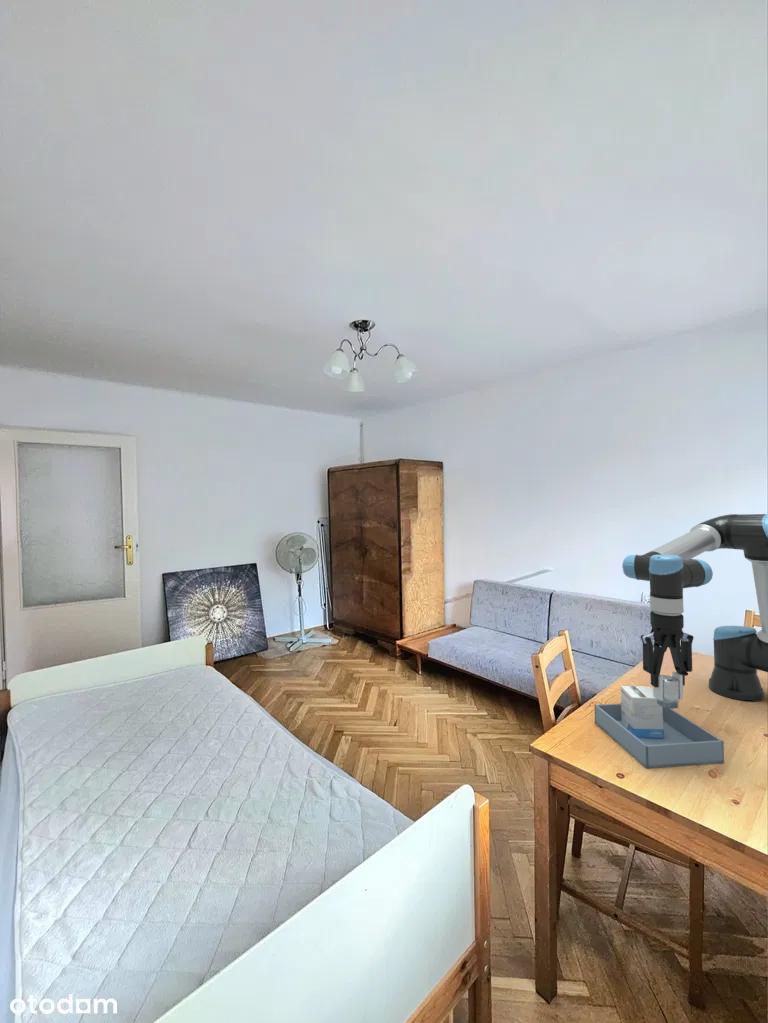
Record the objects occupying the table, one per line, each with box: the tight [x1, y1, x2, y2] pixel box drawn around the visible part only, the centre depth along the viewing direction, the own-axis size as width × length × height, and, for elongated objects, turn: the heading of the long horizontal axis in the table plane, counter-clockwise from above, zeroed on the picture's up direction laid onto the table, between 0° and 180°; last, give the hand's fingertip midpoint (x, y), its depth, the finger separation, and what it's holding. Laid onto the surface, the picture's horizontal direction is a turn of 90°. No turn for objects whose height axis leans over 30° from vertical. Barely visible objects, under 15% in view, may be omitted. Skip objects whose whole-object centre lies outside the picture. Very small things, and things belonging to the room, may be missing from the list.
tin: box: [657, 674, 680, 710], centre depth 115 cm, size 5×5×7 cm
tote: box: [594, 702, 725, 769], centre depth 121 cm, size 21×23×6 cm
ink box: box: [620, 682, 664, 738], centre depth 125 cm, size 9×8×13 cm
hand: (668, 697), depth 115 cm, fingers closed on tin, 5 cm apart
